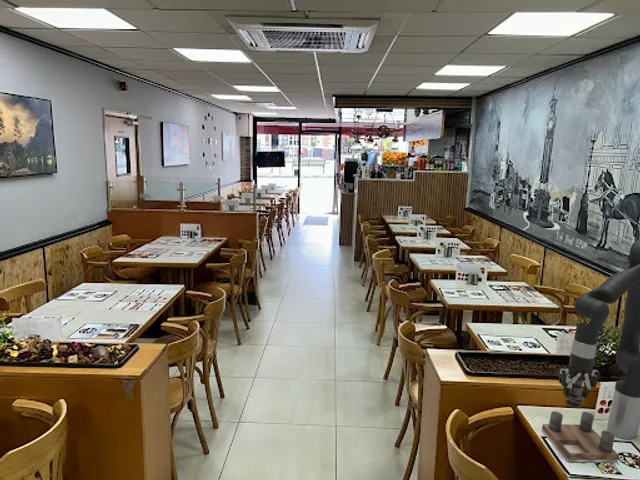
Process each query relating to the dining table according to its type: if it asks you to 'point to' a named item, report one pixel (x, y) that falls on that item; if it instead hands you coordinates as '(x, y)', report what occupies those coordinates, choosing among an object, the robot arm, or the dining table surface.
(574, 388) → the grey chess piece
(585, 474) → the dining table surface
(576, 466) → the dining table surface
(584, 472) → the dining table surface
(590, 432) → the wooden peg stand
